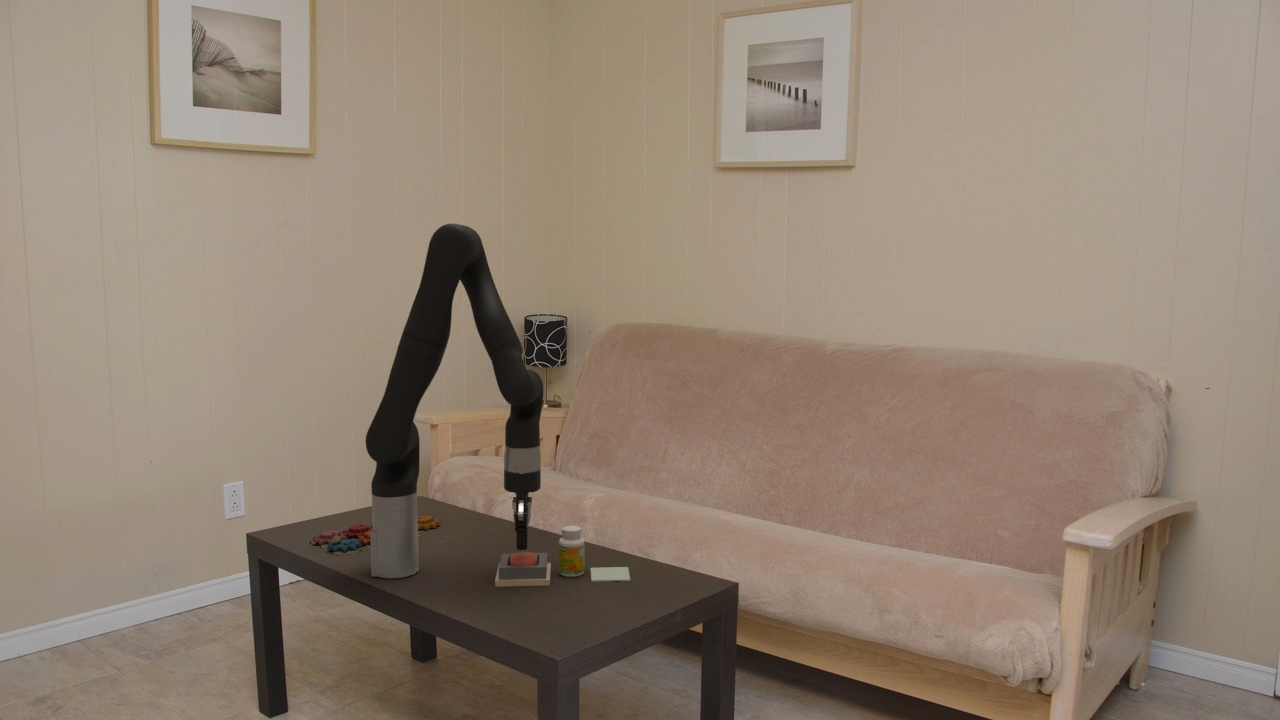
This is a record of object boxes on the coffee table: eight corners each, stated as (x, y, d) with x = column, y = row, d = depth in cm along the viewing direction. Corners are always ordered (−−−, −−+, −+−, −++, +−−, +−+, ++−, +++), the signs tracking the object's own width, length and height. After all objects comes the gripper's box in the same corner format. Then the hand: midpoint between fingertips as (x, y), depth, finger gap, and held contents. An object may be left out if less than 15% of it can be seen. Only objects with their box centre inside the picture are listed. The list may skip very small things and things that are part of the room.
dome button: (509, 574, 197) (509, 560, 196) (510, 566, 202) (510, 552, 202) (536, 574, 197) (536, 559, 197) (537, 565, 203) (537, 551, 202)
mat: (591, 582, 197) (591, 580, 197) (590, 569, 205) (590, 567, 205) (630, 581, 197) (630, 579, 197) (627, 568, 205) (627, 567, 205)
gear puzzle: (423, 520, 245) (423, 504, 245) (458, 533, 234) (458, 516, 233) (306, 544, 224) (305, 527, 224) (338, 560, 212) (337, 542, 212)
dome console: (495, 586, 194) (494, 569, 194) (499, 569, 205) (498, 552, 204) (549, 585, 195) (549, 568, 194) (550, 568, 206) (550, 551, 205)
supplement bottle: (554, 575, 201) (554, 530, 200) (566, 567, 206) (565, 523, 205) (577, 578, 199) (577, 532, 198) (588, 570, 204) (588, 526, 203)
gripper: (506, 460, 204) (506, 539, 205) (501, 474, 190) (501, 559, 192) (541, 460, 204) (541, 539, 206) (539, 474, 191) (539, 558, 193)
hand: (522, 548), depth 199 cm, fingers closed
